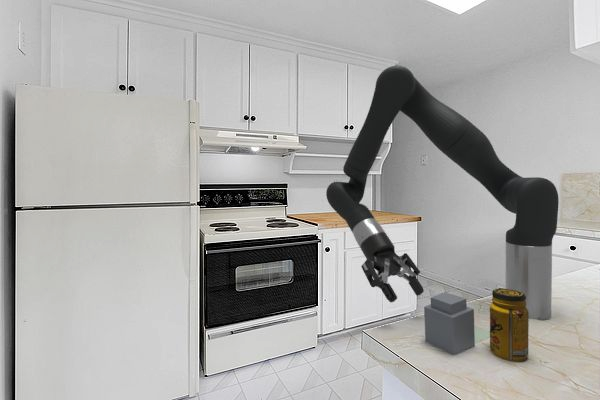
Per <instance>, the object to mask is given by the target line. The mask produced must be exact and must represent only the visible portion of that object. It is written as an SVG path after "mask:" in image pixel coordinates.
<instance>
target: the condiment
mask: <svg viewBox="0 0 600 400" xmlns="http://www.w3.org/2000/svg"><path fill="white" fill-rule="evenodd" d="M491 294H492V295H491V296H492V298H491V301H492V302H491V303H490V304H489V331H490V338H489V348H490V353H492V355H494V356H495V357H497V358H498V359H501V360H505V361H506V362H513V363H524V362H527V360H529V320H530V318H529V312H528V310H527V308H526V301H525V300H526V296H525V294H524V293H522V292H520V291H517V290H513V289H506V288H505V287H504V288H494V289H493V290H492V292H491ZM539 362H540V363H542V361H541V360H539ZM543 363H544V364H546V363H547V364H550V363H551V364H552V362H547V361H544V362H543ZM532 364H534V362H533V363H532Z"/></svg>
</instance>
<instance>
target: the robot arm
mask: <svg viewBox="0 0 600 400" xmlns="http://www.w3.org/2000/svg"><path fill="white" fill-rule="evenodd" d="M399 112H401V113H402V114H404V115H405V116H407V117H408V118H409V119H411V121H413V122H414V123H415V124H416V126H417V127H418V128H419V129H420V130H421V131H422V133H423V134H424V135H425V136H426V138H428V140H429V141H430V142H431V143H432V144H433V145H434V146H435V147H436V148H437V149H438V150H439V151H440V152H441V153H443V155H445V156H446V157H447V158H448V159H450V160H451V161H452V162H454V163H455V164H456V165H457V166H458V167H460V168H461V169H462V170H463V171H465V172H466V173H467V174H469V175H470V176H471V177H472V178H474V179H475V180H476V181H477V182H479V183H480V184H481V185H482V186H483V187H484V188H485V189H486V190H487V191H488V192H489V193H490V195H492V197H494V199H495V200H496V201H497V202H498V203H499V204H500V205H501V206H502V207H503V208H504V209H506V210H507V211H508V212H510V213H512V214H515V223H514V226H513V227H511V228H510V229H508V230H507V231H506V233H505V289H513V290H517V291H520V292H522V293H524V294H525V296H526V300H525V301H526V308H527V310H528V312H529V320H530V319H532V320H538V321H539V320H549V319H551V318H552V297H553V296H552V295H553V294H552V291H553V289H552V286H553V282H552V280H553V274H552V273H553V271H552V270H553V264H552V263H553V238H554V236H555V234H556V232H557V230H558V229H557V228H558V218H559V217H558V216H559V202H560V201H559V198H560V197H559V193H558V189H557V186H556V185H555V183H553V181H551V180H549V179H548V178H544V177H539V176H537V177H536V176H535V177H532V176H531V177H523V176H520V175H519V174H518V173H516V172H515V171H513V170H512V169H511V168H510V167H508V166H507V165H506V164H504V162H502V160H501V159H500V158H499V156H498V155H497V152H496V151H495V148H494V147H493V144H492V143H491V140H489V138H488V137H487V136H486V134H485V133H484V132H483V131H481V130H480V129H479V128H478V127H477V126H475V124H473V122H471V121H470V120H469V119H467V118H466V117H464V116H463V115H462V114H460V113H459V112H458V111H456V110H454V109H453V108H451V107H450V106H448V105H446V104H445V103H443V102H441V101H440V100H439V99H437V98H436V97H435V96H433V95H432V94H431V93H430V92H429V91H428V89H426V88H425V87H424V86H423V85H422V84H421V82H419V81H418V80H417V78H416V77H415V76H414V73H413V72H412V71H411V70H410V69H409V68H407V67H406V66H402V65H391V66H387V68H385V69H384V70H383V71H381V72H380V74H379V75H378V76H377V78H376V81H375V88H374V91H373V96H372V100H371V104H370V107H369V109H368V113H367V115H366V118H365V119H364V122H363V125H362V127H361V129H360V131H359V133H358V135H357V137H356V138H355V141H354V143H353V144H352V146H351V149H350V151H349V154H348V156H347V158H346V159H345V160H346V161H344V165H343V173H344V175H345V176H347V177H348V178H349V181H348V182H346V181H333V182H330V184H329V185H328V186H327V189H326V192H325V194H326V195H325V196H326V200H327V202H328V204H329V206H330V207H331V208H332V210H334V211H335V212H336V213H337V214H338V215H339V216H340V218H342V219H343V220H344V221H345V222H346V224H347V226H348V227H349V229H350V231H351V233H352V235H353V237H354V239H355V241H356V242H357V245H358V246H359V248H360V250H361V252H362V254H363V255H364V257H365V259H366V260H365V261H364V262H363V263H362V264H361V266H360V267H361V269H362V270H363V273H364V275H365V277H366V279H367V281H368V283H369V284H370V287H371V288H375V287H377V288H379V289H380V290H381V291H382V293H383V295H384V297H385V298H386V300H388V302H389V303H394V302H395V301H396V300H397V299H398V296H397V294H396V292H395V291H394V289H393V287H392V286H391V284H390V282H388V279H389V277H391V276H392V277H393V276H394V277H395V276H397V277H399V278H403V279H404V280H405V281H407V282H408V284H409V287H410V288H411V289H412V291H413V292H414V294H415V296H417V297H418V296H420V295H423V293H424V290H425V289H424V287H423V286H422V284H421V283H420V281H419V279H418V278H417V276H418V275H419V274H421V271H420V269H419V268H418V266H417V265H416V264H415V262H414V261H413V260H412V258H411V257H410V255H409V254H408V253H407V252H404V253H403V254H402V255H398V254H397V253H396V251H395V245H394V244H393V242H392V241H391V239H390V237H389V236H388V234H387V232H385V229H383V226H382V225H381V224H380V223H379V222H378V221H377V220H376V218H375V217H374V214H373V213H372V212H371V211H370V209H369V208H368V206H366V205H365V204H363V203H361V201H362V200H363V197H364V195H365V191H366V185H367V180H368V175H369V174H370V171H371V169H372V167H373V165H374V163H375V161H376V159H377V156H378V155H379V152H380V150H381V147H382V144H383V142H384V140H385V137H386V135H387V133H388V131H389V129H390V127H391V125H392V124H393V121H394V120H395V118H396V117H397V115H398V114H399Z"/></svg>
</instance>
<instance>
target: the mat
mask: <svg viewBox="0 0 600 400" xmlns="http://www.w3.org/2000/svg"><path fill="white" fill-rule="evenodd" d="M474 334H475V344H478V343H479V342H482V341H485V340H488V339H490V330H488V329H484V327H483V328H482V327H481V326H477V325H475V324H474Z"/></svg>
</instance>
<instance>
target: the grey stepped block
mask: <svg viewBox="0 0 600 400" xmlns="http://www.w3.org/2000/svg"><path fill="white" fill-rule="evenodd" d="M467 304H468V303H467V298H465V297H462V296H459V295H455V294H453V293H449V292H446V291H445V292H442V293H438V294H436V295H434V296H431V297H430V304H427V305H425V306H423V308H424V309H423V312H424V313H423V314H424V315H423V316H424V338H425V339H424V340H425V342H426V343H428V344H429V345H432V346H433V347H436V348H438V349H439V350H442V351H444V352H446V353H448V354H449V355H450V354H451V356H456V355H459V354H461V353H463V352H466V351H467V350H470V349H472V348H474V347H476V343H475V334H474V325H475V309H474V308H473V307H469V306H467Z"/></svg>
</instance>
